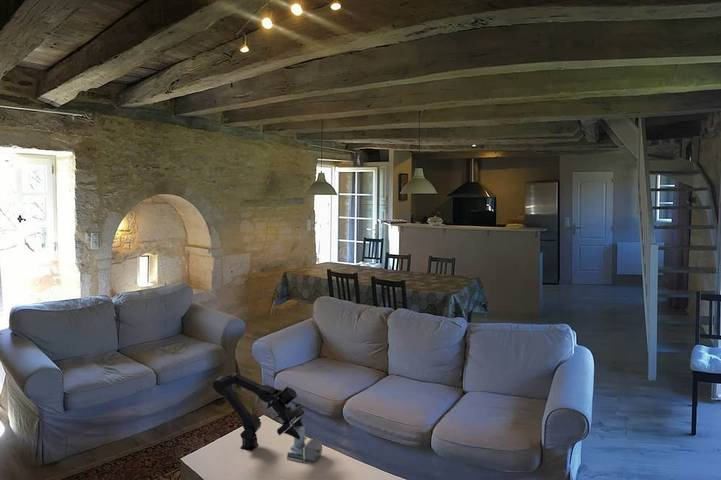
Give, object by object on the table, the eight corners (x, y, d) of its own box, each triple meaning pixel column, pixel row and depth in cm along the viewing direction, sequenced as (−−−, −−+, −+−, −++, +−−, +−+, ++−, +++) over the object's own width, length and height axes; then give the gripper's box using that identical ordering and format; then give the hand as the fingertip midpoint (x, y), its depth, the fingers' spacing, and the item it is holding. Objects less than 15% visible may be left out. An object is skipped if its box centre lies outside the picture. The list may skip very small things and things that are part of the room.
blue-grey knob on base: (290, 450, 232) (290, 430, 231) (296, 444, 238) (296, 424, 237) (303, 453, 230) (303, 433, 229) (308, 447, 236) (308, 427, 235)
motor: (286, 459, 230) (286, 444, 230) (297, 447, 241) (297, 434, 240) (316, 465, 225) (316, 451, 225) (325, 453, 236) (325, 439, 235)
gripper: (283, 408, 224) (304, 436, 221) (301, 393, 241) (321, 418, 239) (267, 421, 227) (288, 449, 225) (286, 405, 245) (306, 430, 242)
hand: (302, 436), depth 233 cm, fingers closed on blue-grey knob on base, 5 cm apart
